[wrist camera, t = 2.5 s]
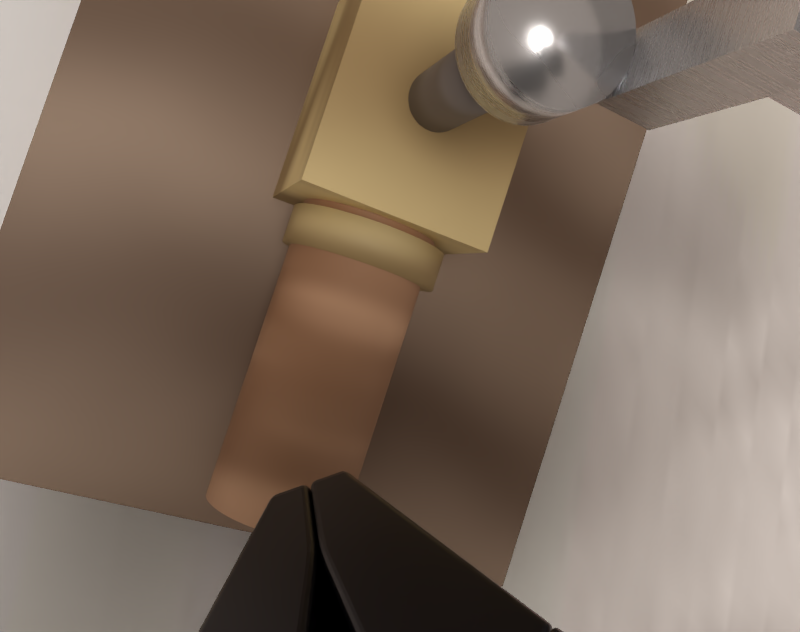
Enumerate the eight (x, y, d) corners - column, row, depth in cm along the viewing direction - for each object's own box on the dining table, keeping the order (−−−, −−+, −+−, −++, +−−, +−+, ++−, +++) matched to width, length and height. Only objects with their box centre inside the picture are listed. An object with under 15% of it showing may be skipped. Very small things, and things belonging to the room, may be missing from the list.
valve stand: (478, 563, 20) (671, 742, 13) (-60, 443, 16) (-266, 610, 8) (682, -81, 21) (979, -277, 14) (227, -373, 17) (287, -921, 9)
